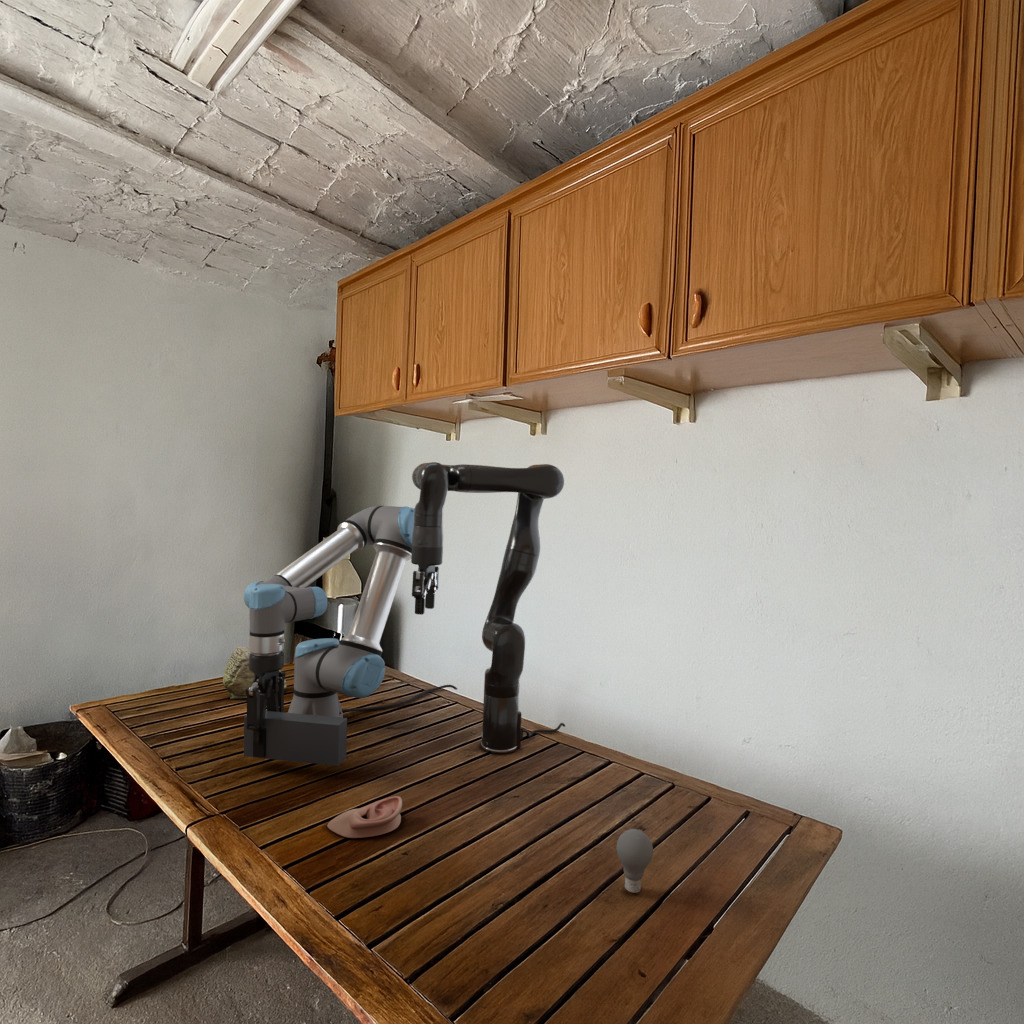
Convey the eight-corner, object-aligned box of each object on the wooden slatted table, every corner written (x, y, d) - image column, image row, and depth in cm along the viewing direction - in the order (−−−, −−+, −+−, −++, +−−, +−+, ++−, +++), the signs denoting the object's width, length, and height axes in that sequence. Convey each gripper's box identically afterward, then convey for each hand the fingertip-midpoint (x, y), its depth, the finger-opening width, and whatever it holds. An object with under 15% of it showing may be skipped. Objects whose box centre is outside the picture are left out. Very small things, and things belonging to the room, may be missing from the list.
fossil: (218, 695, 195) (220, 647, 195) (278, 685, 208) (279, 640, 207) (228, 703, 189) (230, 653, 188) (289, 692, 201) (290, 645, 201)
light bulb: (610, 879, 108) (613, 822, 108) (644, 879, 109) (647, 822, 109) (619, 902, 102) (622, 840, 102) (655, 901, 103) (658, 840, 103)
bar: (243, 756, 145) (244, 716, 145) (254, 748, 150) (254, 709, 149) (338, 766, 142) (338, 725, 141) (346, 757, 146) (347, 717, 146)
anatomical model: (320, 812, 119) (347, 786, 130) (319, 833, 119) (347, 805, 130) (386, 822, 116) (408, 795, 127) (385, 844, 116) (408, 814, 128)
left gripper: (261, 663, 137) (259, 769, 138) (300, 643, 154) (298, 738, 155) (229, 661, 138) (228, 766, 139) (271, 641, 155) (270, 735, 156)
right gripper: (434, 547, 146) (431, 617, 146) (449, 543, 160) (447, 607, 160) (403, 545, 147) (400, 615, 147) (421, 542, 161) (418, 605, 162)
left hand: (265, 751), depth 147 cm, fingers closed on bar, 4 cm apart
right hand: (424, 611), depth 154 cm, fingers open, 8 cm apart
